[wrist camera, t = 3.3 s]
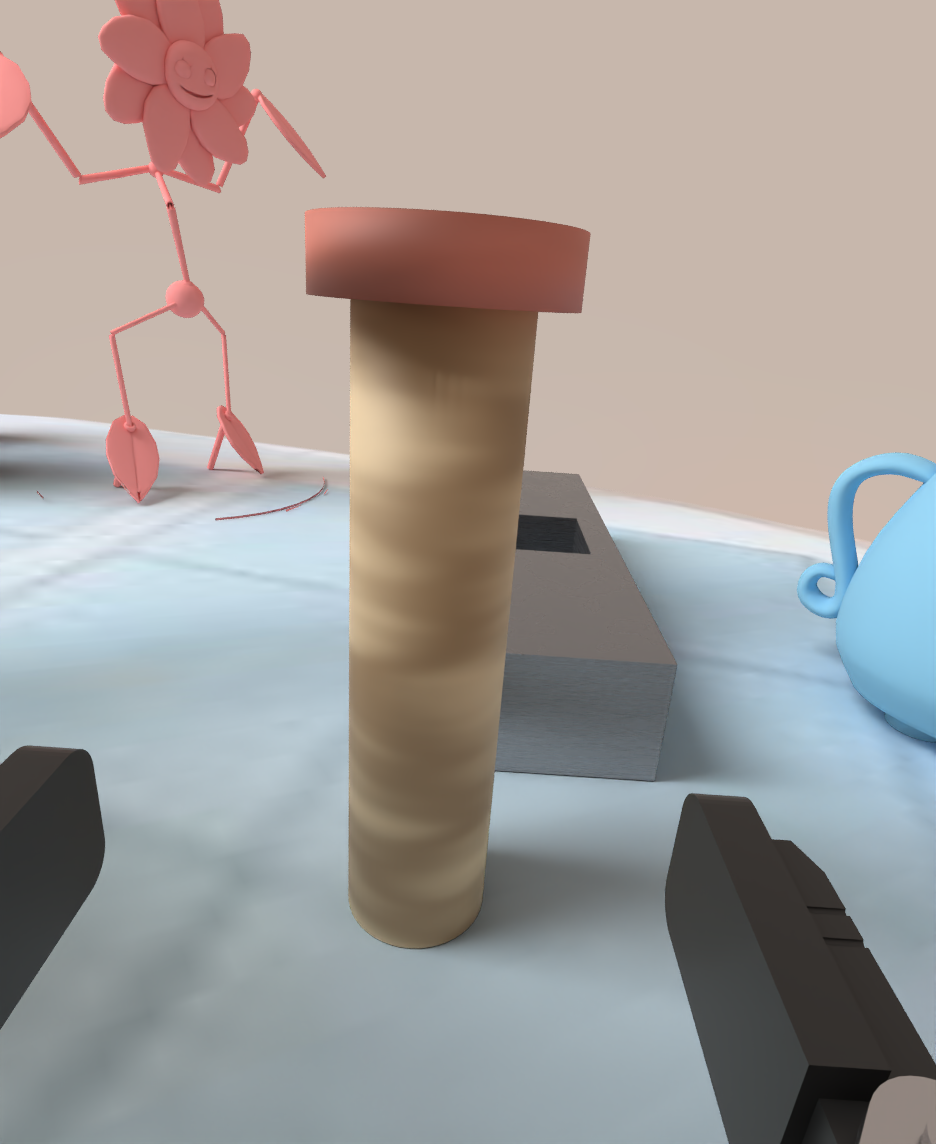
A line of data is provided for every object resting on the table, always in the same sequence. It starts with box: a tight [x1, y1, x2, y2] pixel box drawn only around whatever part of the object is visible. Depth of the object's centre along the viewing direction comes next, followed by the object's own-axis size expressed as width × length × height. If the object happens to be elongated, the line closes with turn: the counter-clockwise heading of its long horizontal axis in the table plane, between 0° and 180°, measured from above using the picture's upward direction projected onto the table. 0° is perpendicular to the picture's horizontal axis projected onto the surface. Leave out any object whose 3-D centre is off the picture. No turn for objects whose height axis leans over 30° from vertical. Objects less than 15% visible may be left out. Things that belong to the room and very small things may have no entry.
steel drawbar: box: [495, 471, 677, 781], centre depth 39 cm, size 9×28×5 cm, turn 179°
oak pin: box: [305, 207, 590, 948], centre depth 18 cm, size 6×6×18 cm
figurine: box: [0, 0, 328, 520], centre depth 52 cm, size 15×26×35 cm, turn 146°
